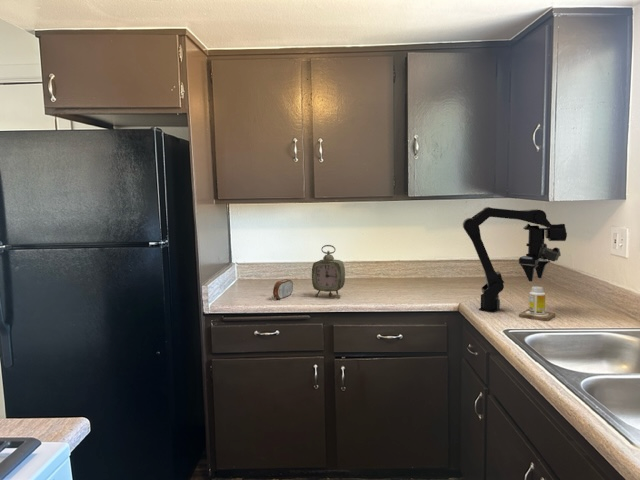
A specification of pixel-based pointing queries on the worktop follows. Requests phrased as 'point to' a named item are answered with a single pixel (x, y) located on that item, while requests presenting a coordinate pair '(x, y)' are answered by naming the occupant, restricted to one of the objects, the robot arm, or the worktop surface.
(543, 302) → the supplement bottle
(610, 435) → the worktop surface
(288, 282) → the tin
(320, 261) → the tabletop clock
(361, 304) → the worktop surface
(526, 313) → the walnut board
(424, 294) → the worktop surface
